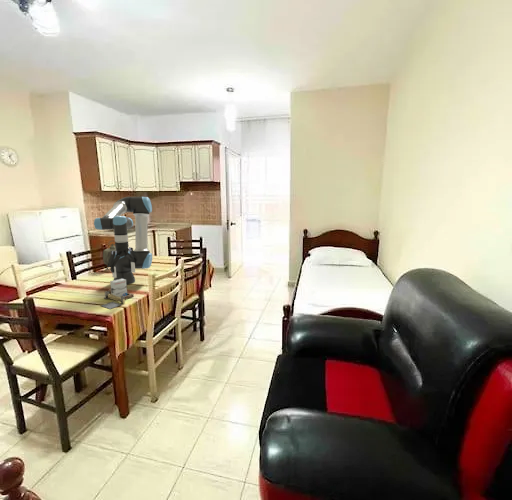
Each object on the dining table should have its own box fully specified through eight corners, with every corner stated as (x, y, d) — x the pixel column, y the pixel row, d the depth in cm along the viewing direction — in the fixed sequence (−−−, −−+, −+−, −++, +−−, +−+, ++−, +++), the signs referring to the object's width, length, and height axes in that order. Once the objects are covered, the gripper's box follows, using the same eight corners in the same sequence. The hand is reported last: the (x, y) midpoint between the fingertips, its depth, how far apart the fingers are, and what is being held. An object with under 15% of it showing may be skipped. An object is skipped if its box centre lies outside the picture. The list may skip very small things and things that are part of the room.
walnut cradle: (119, 292, 208) (119, 285, 207) (133, 296, 201) (133, 289, 199) (102, 298, 197) (101, 291, 196) (116, 302, 190) (115, 295, 189)
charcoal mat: (112, 301, 191) (112, 301, 191) (122, 304, 187) (122, 304, 187) (101, 306, 184) (101, 305, 184) (110, 309, 180) (110, 308, 180)
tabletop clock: (119, 266, 275) (117, 239, 270) (125, 267, 270) (123, 240, 265) (104, 269, 264) (101, 241, 258) (109, 271, 258) (107, 242, 253)
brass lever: (108, 296, 200) (107, 289, 199) (126, 302, 189) (125, 295, 188) (104, 297, 197) (103, 291, 196) (121, 303, 187) (121, 297, 186)
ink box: (123, 294, 204) (122, 278, 201) (127, 296, 201) (126, 279, 198) (111, 298, 197) (109, 281, 195) (115, 300, 194) (113, 282, 192)
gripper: (134, 238, 198) (136, 269, 203) (98, 243, 177) (102, 278, 182) (142, 239, 195) (144, 271, 199) (106, 245, 174) (109, 280, 178)
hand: (124, 274), depth 190 cm, fingers open, 13 cm apart
